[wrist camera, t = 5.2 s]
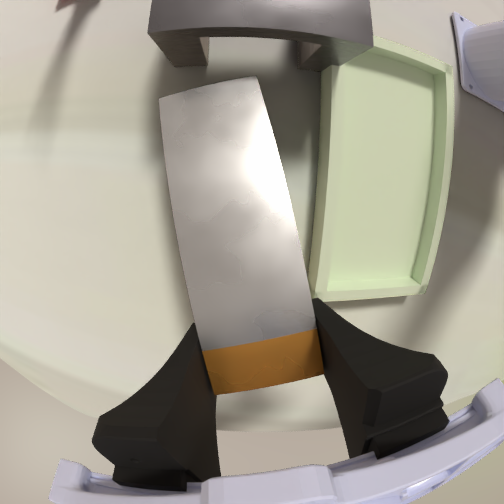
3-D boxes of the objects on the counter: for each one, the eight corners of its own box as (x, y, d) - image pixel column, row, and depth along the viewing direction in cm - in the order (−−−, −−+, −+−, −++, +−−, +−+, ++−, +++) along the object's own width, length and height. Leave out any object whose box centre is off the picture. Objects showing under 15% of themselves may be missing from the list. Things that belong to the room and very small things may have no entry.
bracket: (326, 10, 12) (364, -31, 7) (328, 73, 14) (373, 47, 9) (180, 3, 12) (161, -46, 6) (175, 67, 14) (147, 33, 8)
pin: (256, 120, 15) (256, 75, 11) (306, 343, 15) (324, 373, 10) (182, 137, 15) (158, 98, 11) (226, 359, 15) (214, 395, 10)
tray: (436, 69, 14) (452, 66, 12) (412, 281, 21) (425, 293, 19) (320, 34, 13) (330, 24, 11) (306, 287, 20) (313, 302, 18)
